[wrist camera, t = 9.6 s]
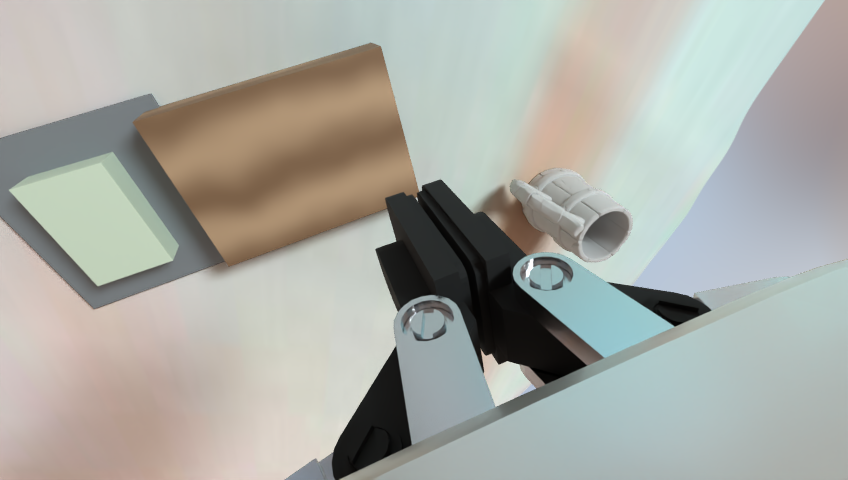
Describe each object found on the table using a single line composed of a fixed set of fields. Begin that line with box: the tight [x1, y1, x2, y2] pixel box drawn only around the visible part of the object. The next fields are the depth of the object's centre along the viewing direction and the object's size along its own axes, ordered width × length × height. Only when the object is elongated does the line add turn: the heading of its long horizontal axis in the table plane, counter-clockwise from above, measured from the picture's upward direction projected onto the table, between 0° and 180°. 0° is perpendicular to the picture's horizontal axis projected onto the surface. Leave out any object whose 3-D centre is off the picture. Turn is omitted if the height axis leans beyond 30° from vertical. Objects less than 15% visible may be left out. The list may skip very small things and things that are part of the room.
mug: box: [510, 168, 633, 262], centre depth 40 cm, size 8×12×12 cm, turn 64°
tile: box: [9, 152, 179, 286], centre depth 31 cm, size 9×6×2 cm, turn 13°
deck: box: [132, 43, 419, 266], centre depth 33 cm, size 13×18×4 cm
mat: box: [0, 94, 225, 309], centre depth 32 cm, size 15×14×1 cm
